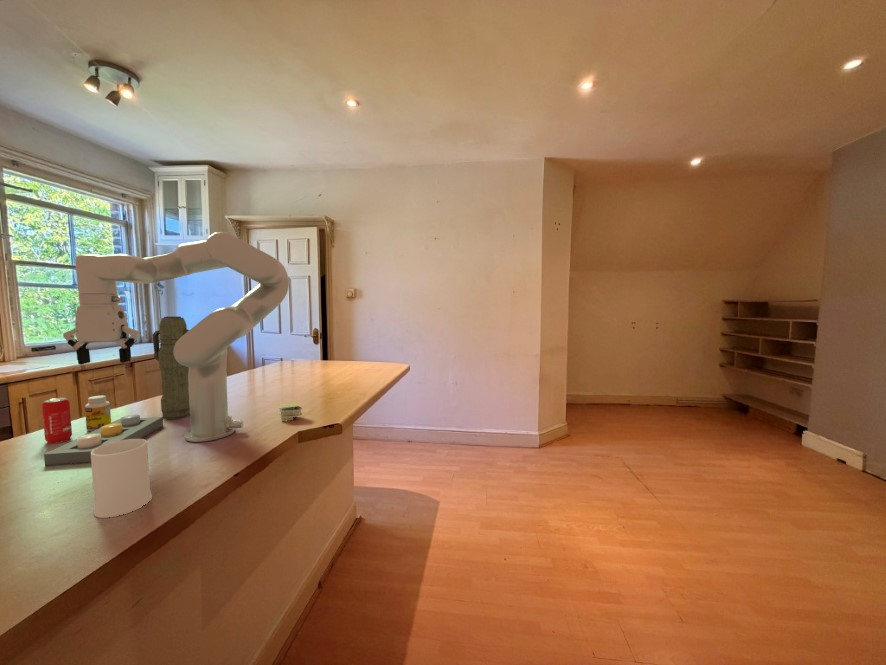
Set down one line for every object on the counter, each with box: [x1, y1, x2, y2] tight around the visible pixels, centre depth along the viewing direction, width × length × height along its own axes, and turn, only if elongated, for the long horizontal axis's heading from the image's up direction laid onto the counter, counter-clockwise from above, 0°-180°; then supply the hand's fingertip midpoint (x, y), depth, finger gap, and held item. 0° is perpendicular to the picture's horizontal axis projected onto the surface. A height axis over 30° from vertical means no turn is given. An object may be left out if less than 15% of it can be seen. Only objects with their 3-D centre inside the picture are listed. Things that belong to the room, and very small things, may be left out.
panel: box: [43, 416, 164, 467], centre depth 97 cm, size 12×26×3 cm, turn 13°
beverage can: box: [41, 397, 73, 445], centre depth 98 cm, size 5×5×12 cm
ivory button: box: [76, 434, 102, 449], centre depth 90 cm, size 4×4×3 cm
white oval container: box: [90, 438, 153, 519], centre depth 69 cm, size 12×8×12 cm
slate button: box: [119, 414, 141, 426], centre depth 105 cm, size 4×4×3 cm
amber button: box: [100, 423, 122, 437], centre depth 97 cm, size 4×4×3 cm
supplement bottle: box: [84, 395, 112, 432], centre depth 108 cm, size 6×6×10 cm
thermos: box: [152, 316, 190, 420], centre depth 121 cm, size 9×12×35 cm
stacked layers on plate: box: [278, 401, 303, 422], centre depth 119 cm, size 10×9×6 cm
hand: (105, 362), depth 96 cm, fingers open, 9 cm apart
